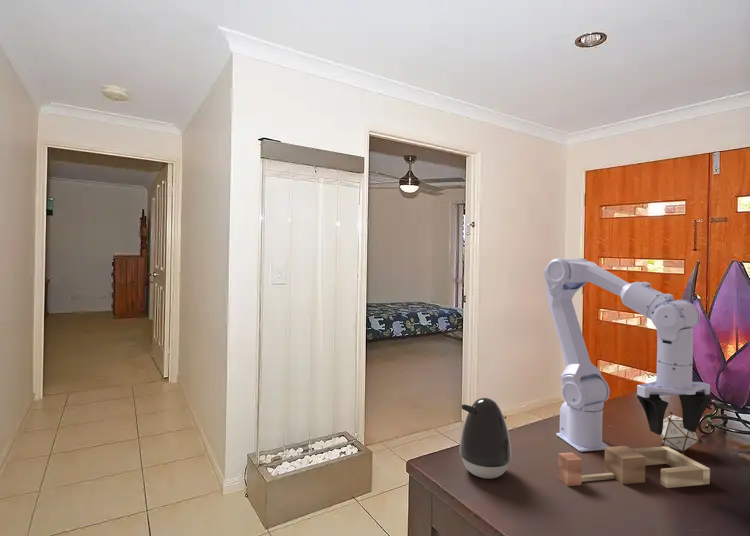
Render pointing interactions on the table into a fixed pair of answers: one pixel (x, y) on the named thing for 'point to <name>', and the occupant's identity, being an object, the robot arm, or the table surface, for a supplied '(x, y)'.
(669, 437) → the game die
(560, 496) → the table surface
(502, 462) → the pump dispenser
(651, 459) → the wooden u-channel piece
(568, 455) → the tethered block
